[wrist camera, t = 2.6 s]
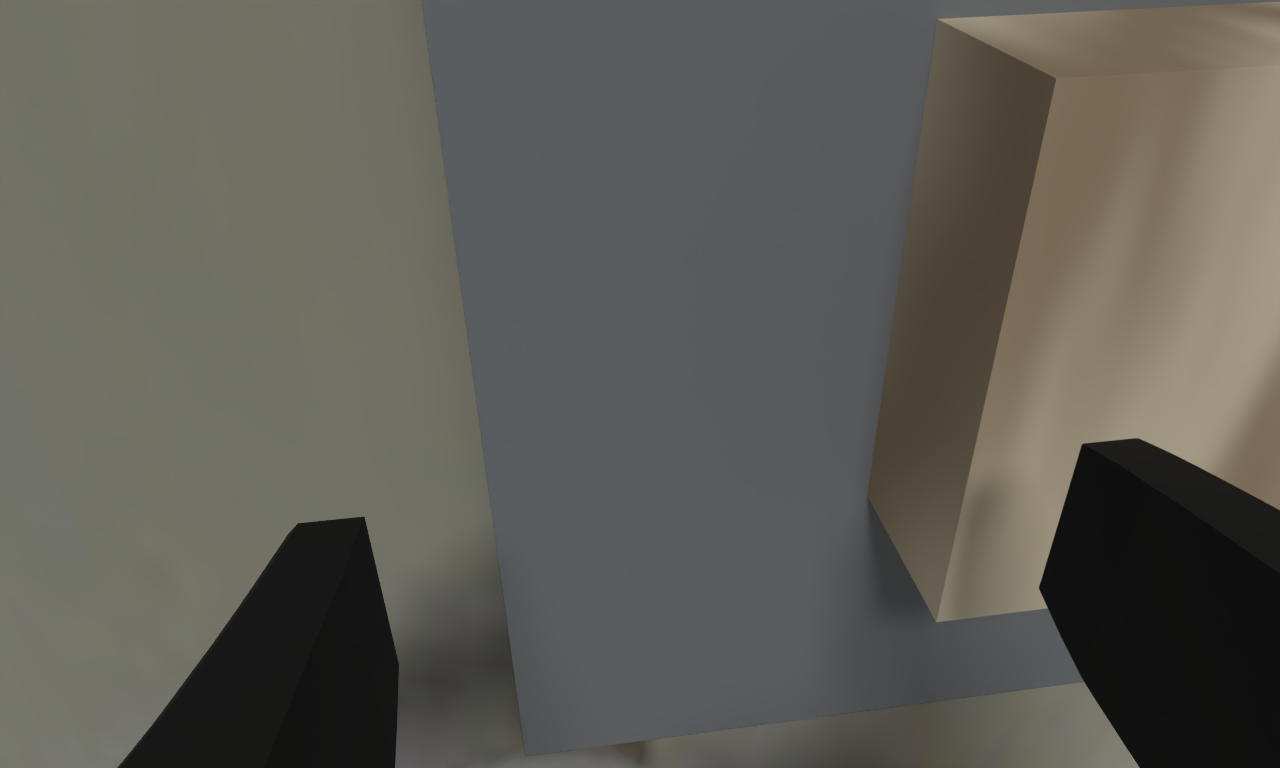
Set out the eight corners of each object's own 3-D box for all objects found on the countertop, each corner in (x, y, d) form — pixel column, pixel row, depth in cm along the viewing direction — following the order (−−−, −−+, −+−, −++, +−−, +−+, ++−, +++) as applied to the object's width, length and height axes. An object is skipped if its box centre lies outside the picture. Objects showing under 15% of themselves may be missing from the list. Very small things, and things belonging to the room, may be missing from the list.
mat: (1958, -597, 11) (2031, -615, 10) (1307, 629, 21) (1327, 649, 21) (338, -640, 9) (330, -667, 8) (524, 731, 19) (525, 756, 19)
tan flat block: (937, 18, 12) (1484, -10, 13) (867, 495, 16) (1280, 450, 17) (1056, 78, 10) (1724, 38, 10) (936, 622, 14) (1415, 562, 15)
